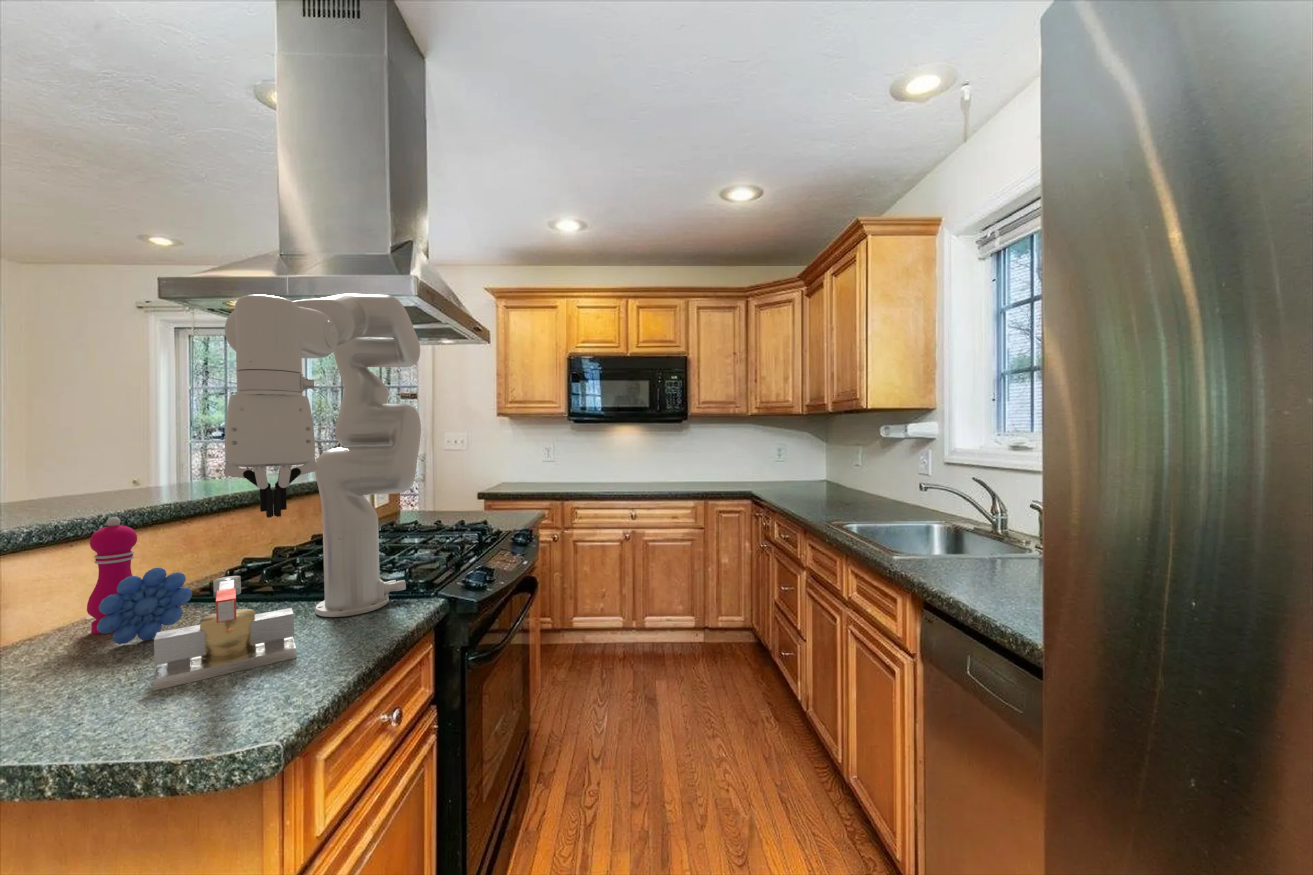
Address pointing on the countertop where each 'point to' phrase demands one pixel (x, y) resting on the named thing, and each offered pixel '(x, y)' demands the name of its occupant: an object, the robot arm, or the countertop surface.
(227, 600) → the valve lever
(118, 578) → the pepper mill
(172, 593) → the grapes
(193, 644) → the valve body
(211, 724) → the countertop surface
